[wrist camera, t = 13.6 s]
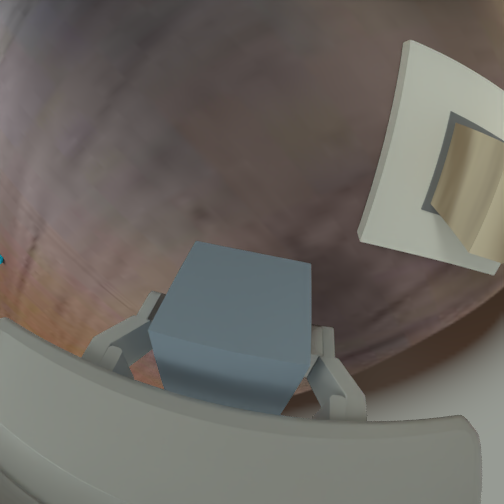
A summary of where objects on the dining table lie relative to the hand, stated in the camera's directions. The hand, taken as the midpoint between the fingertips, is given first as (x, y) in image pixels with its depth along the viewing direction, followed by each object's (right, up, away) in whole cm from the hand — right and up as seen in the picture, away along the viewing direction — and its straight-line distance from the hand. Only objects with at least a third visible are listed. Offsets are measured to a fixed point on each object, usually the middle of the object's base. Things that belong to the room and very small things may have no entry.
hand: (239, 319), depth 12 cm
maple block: (+13, +7, 0) cm, 15 cm away
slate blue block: (0, +1, +1) cm, 2 cm away
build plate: (+14, +8, +1) cm, 16 cm away
